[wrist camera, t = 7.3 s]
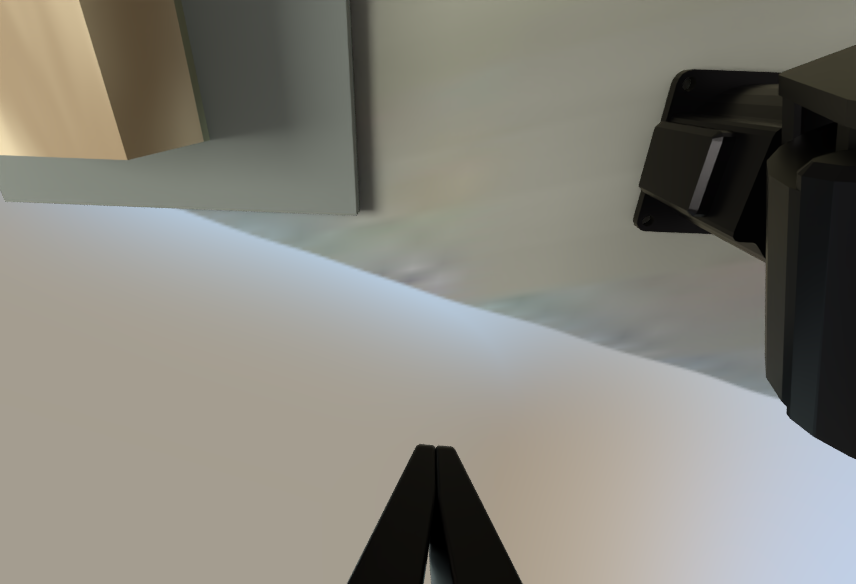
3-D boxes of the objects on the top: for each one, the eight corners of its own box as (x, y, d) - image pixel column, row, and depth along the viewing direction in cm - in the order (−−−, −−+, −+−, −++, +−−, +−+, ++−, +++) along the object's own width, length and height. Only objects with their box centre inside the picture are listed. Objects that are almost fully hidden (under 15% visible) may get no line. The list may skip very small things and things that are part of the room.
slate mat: (338, -235, 12) (333, -254, 12) (359, 210, 19) (356, 215, 18) (-178, -254, 12) (-215, -274, 12) (21, 197, 19) (5, 201, 18)
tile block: (9, -229, 9) (-362, -242, 9) (127, 160, 12) (-131, 149, 12) (156, -121, 13) (-88, -130, 13) (210, 140, 17) (20, 132, 17)
